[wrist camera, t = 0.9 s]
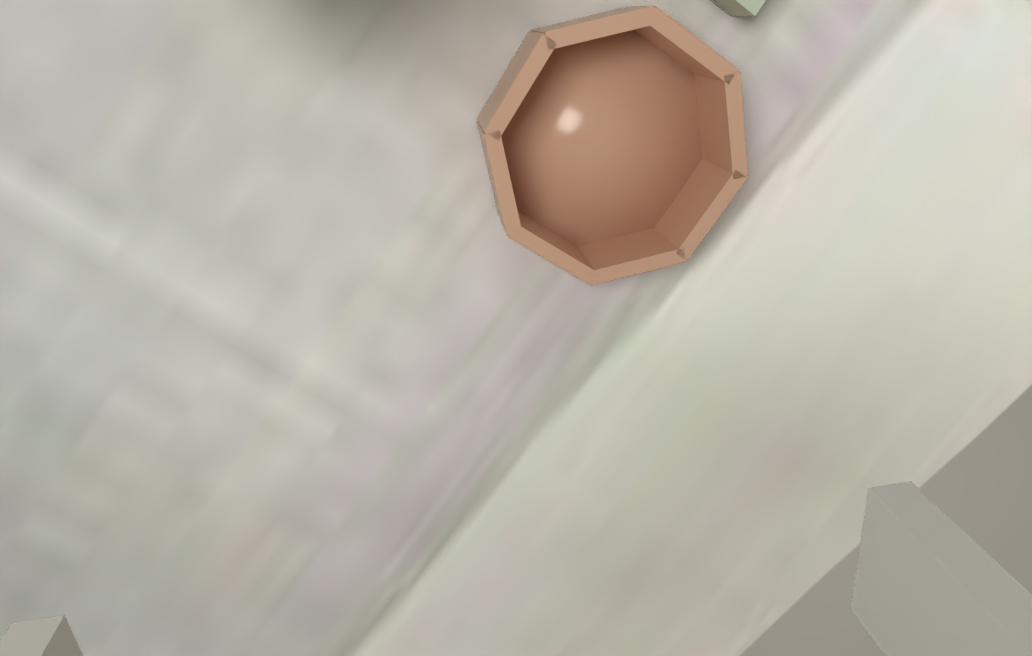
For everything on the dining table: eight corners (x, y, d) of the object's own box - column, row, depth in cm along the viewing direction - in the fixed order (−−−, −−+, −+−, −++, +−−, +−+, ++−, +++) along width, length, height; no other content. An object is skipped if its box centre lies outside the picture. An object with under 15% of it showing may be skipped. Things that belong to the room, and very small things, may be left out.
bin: (440, 178, 35) (443, 199, 31) (568, -38, 32) (589, -45, 28) (622, 286, 38) (645, 317, 34) (753, 101, 35) (795, 112, 31)
